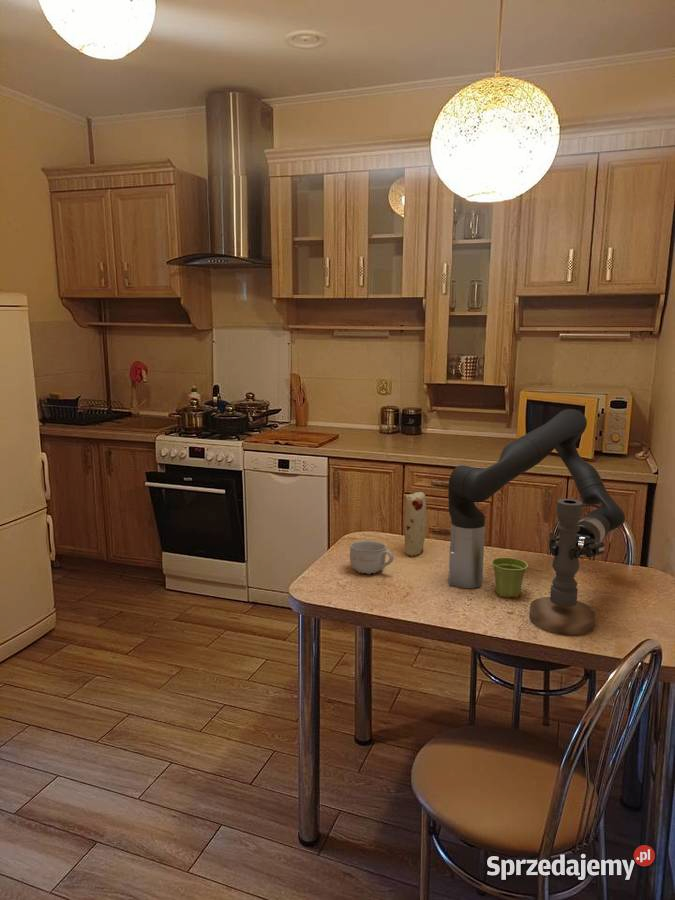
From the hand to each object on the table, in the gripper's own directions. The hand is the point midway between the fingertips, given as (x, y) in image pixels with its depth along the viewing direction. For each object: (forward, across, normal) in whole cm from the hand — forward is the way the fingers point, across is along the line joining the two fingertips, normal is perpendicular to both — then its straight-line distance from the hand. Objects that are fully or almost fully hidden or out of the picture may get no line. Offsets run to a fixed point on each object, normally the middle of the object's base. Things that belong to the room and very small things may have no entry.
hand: (563, 553), depth 147 cm
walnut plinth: (-2, 0, +18) cm, 18 cm away
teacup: (0, -55, +18) cm, 58 cm away
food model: (-21, -54, +18) cm, 61 cm away
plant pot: (-10, -17, +18) cm, 27 cm away
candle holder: (-3, 0, +13) cm, 13 cm away
